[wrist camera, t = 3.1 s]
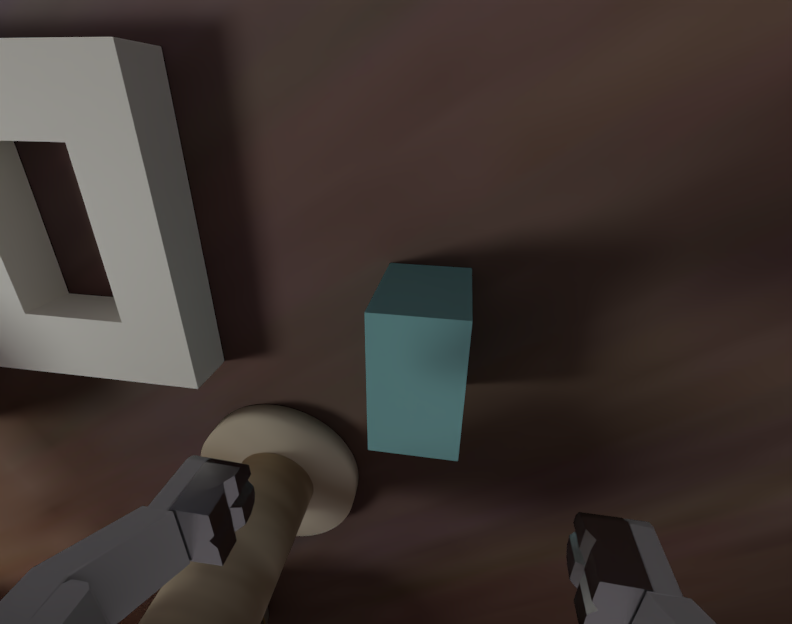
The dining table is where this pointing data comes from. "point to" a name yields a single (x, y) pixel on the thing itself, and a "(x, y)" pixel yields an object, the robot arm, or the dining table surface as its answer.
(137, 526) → the robot arm
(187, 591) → the door knob
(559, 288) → the dining table surface
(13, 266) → the board
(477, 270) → the dining table surface
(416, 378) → the teal rectangular block
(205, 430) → the dining table surface
